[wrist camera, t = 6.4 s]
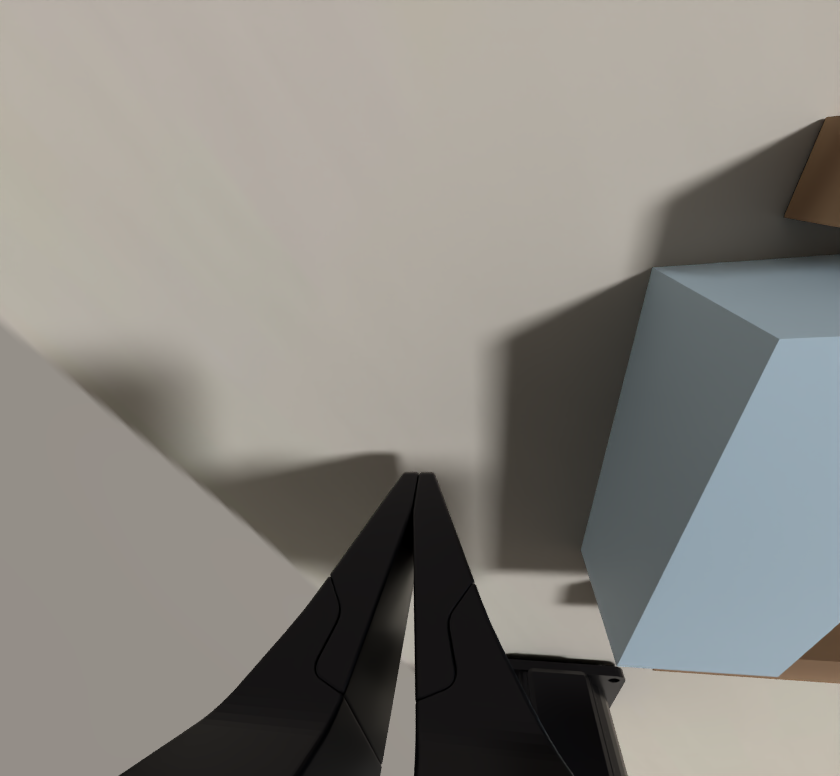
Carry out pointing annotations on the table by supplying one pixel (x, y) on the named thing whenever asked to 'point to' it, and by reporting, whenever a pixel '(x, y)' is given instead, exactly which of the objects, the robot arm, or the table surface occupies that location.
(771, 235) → the table surface
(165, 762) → the robot arm
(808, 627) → the t block
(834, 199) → the pocket
